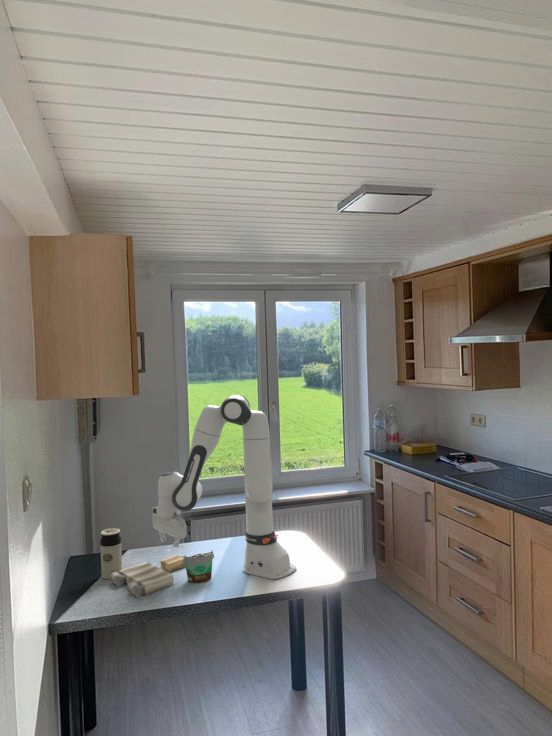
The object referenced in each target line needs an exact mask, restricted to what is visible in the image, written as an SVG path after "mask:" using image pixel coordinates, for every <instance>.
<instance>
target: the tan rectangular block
mask: <svg viewBox="0 0 552 736" xmlns="http://www.w3.org/2000/svg"><path fill="white" fill-rule="evenodd" d="M183 560H184V555H182V554H180V553H178V554H175V555H172V556H169V557H167V558H162V559H161V560H159V561H160V569H162V570H164V571H166V572H168V573H171V572H173V571H176V570H179V569H181V568H186V564H185V562H184V561H183Z"/></svg>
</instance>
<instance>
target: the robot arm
mask: <svg viewBox="0 0 552 736" xmlns="http://www.w3.org/2000/svg"><path fill="white" fill-rule="evenodd" d="M227 423H231V424H233V425H236V426H237V425H239V426H241V428H242V440H243V441H242V442H243V464H244V466H243V467H244V498H245V499H244V501H245V524H246V525H245V526H246V530H245V542H246V546H245V551H244V552H245V553H244V563H243V569H242V572H243V573H245V574H249V575H253V576H257V577H262V578H265V579H268V580H269V579H270V580H276V579H283V578H284V577H287V576H289V575H292V574H293V573H294V572H295V571H296V570H297V566H296V565H294V564H292V563H291V561H290V556H289V555H290V554H289V553H288V552H287V550H286V549H285V548H284V547H283V546H282V545H281V544H280V542H279V541H278V540H277V538H279V537H278V536H279V535H278V534H276V532H275V530H274V520H273V519H274V517H273V516H274V515H273V512H274V511H273V502H272V501H273V500H272V494H273V490H274V489H273V469H272V460H271V459H272V458H271V436H270V435H271V432H270V425H269V420H268V416H267V414H266V413H265V412H263V411H260V410H253V409H251V405H250V402H249V400H248V399H247V398H246V396H243V395H241V394H233V395H229V396H228V397H227V398H226V399H224V400H223V402H222V403H221V405H220V406H219V405H215V404H214V405H212V404H209V405H206V406H204V408H203V409H202V410H201V412H200V415H199V416H198V418H197V421H196V424H195V427H194V429H193V435H192V440H191V445H190V451H189V457H188V460H187V464H186V466H185V470H184V472H183V475H182V474H180V473H179V471H176V470H171V471H167V472H165V473H162V474H161V475H160V476H159V479H158V484H157V495H158V503H157V506H155V507H152V508H151V513H152V527H153V529H154V530H157V531H158V535H159V538H160V542H161V543H165V542H166V541H167V537H166V535H168V536H171V537H173V538H174V541H173V542H172V547H174V548H175V549H176V548H179V546H180V544H179V543H180V542H181V539H184V538H186V537H187V535H188V534H187V523H186V520H185V518H184V517H183V515H182V514H181V512H188V511H191V510H193V508H195V507H196V505H197V502H198V501H199V499H200V498H201V497H202V494H203V493H204V492H203V490H204V489H203V488H204V487H203V485H202V483H201V482H200V481H199V480H200V477H201V474H202V470H203V468H204V465H205V464H206V462H207V460H208V459H209V458H210V457H211V455H212V454H213V453H214V452H215V449H216V448H217V446H218V444H219V442H220V439H221V436H222V433H223V429H224V427H225V424H227Z"/></svg>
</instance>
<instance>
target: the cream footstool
mask: <svg viewBox="0 0 552 736" xmlns="http://www.w3.org/2000/svg"><path fill="white" fill-rule="evenodd" d="M108 580H109V581H110V582H111V583H112V584H115V585H116V586H118V587H122V586H123V585H124V584H127V588H126V589H127V592H128V593H130V594H132V595H133V596H135V597H136V598H140V597H142V596H143V595H148V593H149V594H151V593H153V592H156V591H159V590H161V589H164V588H167V587H169V586H172V585H174V574H173V573H171V572H167V571H165V570H163V569H161V567H158V566H156V565H154V564H153V563H150V562H147V561H144V562H142V563H138V564H135V565H132V566H129V567H127V568H124V569H123V568H122V570H120V571H119V572H118V573H116V572H113V573H112V574H111V575H110V577H109V579H108Z"/></svg>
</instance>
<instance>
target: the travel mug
mask: <svg viewBox="0 0 552 736" xmlns="http://www.w3.org/2000/svg"><path fill="white" fill-rule="evenodd" d="M120 532H121V529H120V528H106V529H104V530H103V529H102V531H101V532H100V535H101V538H100V542H99V544H100V568H101V578H103V579H105V580H110V579H109V577H110V575H111V574H112V573H113V572H116V573H118V572H119V571H120V570H123V556H122V537H121V535H120Z"/></svg>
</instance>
